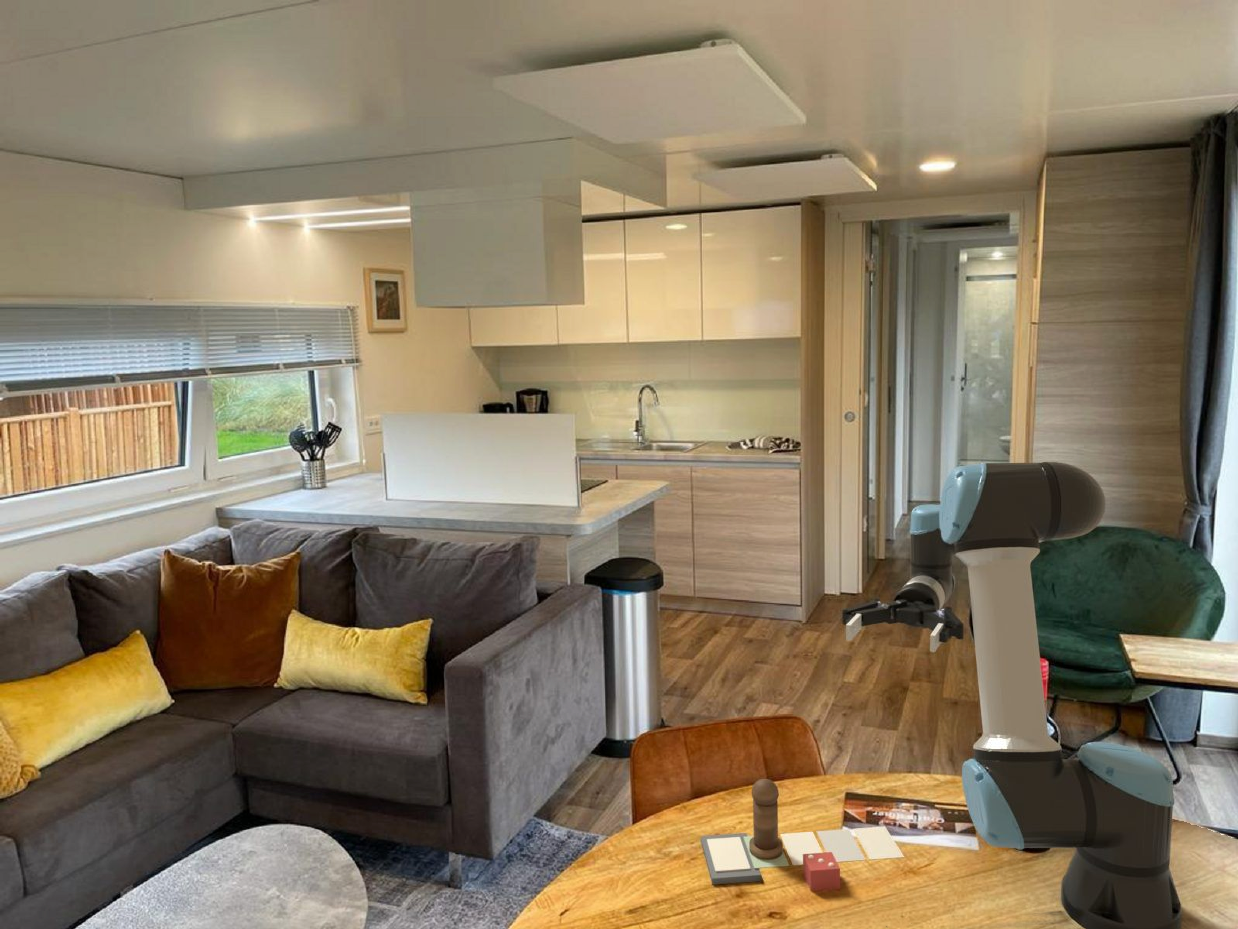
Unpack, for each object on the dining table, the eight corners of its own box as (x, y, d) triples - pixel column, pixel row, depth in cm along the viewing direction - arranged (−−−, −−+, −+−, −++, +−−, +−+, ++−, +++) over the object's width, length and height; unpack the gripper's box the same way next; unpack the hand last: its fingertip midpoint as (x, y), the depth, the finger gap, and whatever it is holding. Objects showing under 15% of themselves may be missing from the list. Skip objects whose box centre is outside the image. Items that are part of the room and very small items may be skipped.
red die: (840, 896, 142) (839, 866, 141) (810, 898, 141) (810, 868, 141) (831, 878, 146) (831, 850, 145) (803, 881, 146) (802, 852, 145)
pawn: (785, 858, 150) (784, 787, 148) (752, 860, 149) (751, 789, 147) (779, 840, 155) (778, 771, 153) (746, 842, 155) (745, 773, 153)
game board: (912, 869, 147) (912, 862, 147) (712, 884, 146) (711, 877, 146) (886, 828, 159) (886, 821, 159) (700, 841, 158) (700, 834, 158)
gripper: (991, 630, 169) (969, 671, 151) (851, 613, 181) (815, 650, 163) (992, 589, 168) (970, 625, 150) (851, 575, 180) (814, 607, 162)
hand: (889, 638), depth 157 cm, fingers open, 13 cm apart
